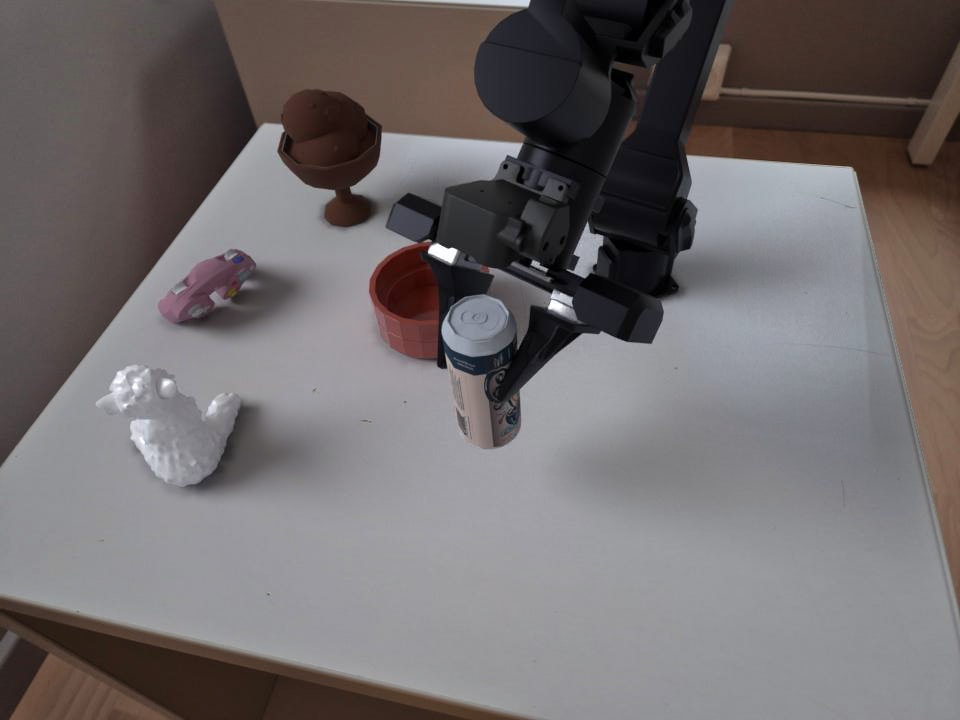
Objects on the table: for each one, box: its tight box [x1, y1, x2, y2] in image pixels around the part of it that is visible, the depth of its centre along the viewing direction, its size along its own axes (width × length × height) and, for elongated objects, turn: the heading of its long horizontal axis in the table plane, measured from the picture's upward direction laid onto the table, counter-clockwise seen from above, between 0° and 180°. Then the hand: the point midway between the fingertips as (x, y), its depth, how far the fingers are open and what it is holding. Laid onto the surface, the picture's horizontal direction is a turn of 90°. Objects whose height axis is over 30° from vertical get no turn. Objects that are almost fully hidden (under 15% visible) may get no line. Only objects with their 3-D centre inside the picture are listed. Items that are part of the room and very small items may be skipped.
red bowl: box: [368, 241, 492, 360], centre depth 71 cm, size 11×11×5 cm
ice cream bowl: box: [276, 88, 383, 228], centre depth 79 cm, size 11×11×15 cm
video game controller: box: [157, 248, 257, 324], centre depth 74 cm, size 10×5×7 cm, turn 139°
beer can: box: [442, 294, 522, 450], centre depth 51 cm, size 5×5×12 cm
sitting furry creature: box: [95, 363, 242, 488], centre depth 60 cm, size 10×9×12 cm
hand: (471, 384), depth 50 cm, fingers closed on beer can, 5 cm apart
